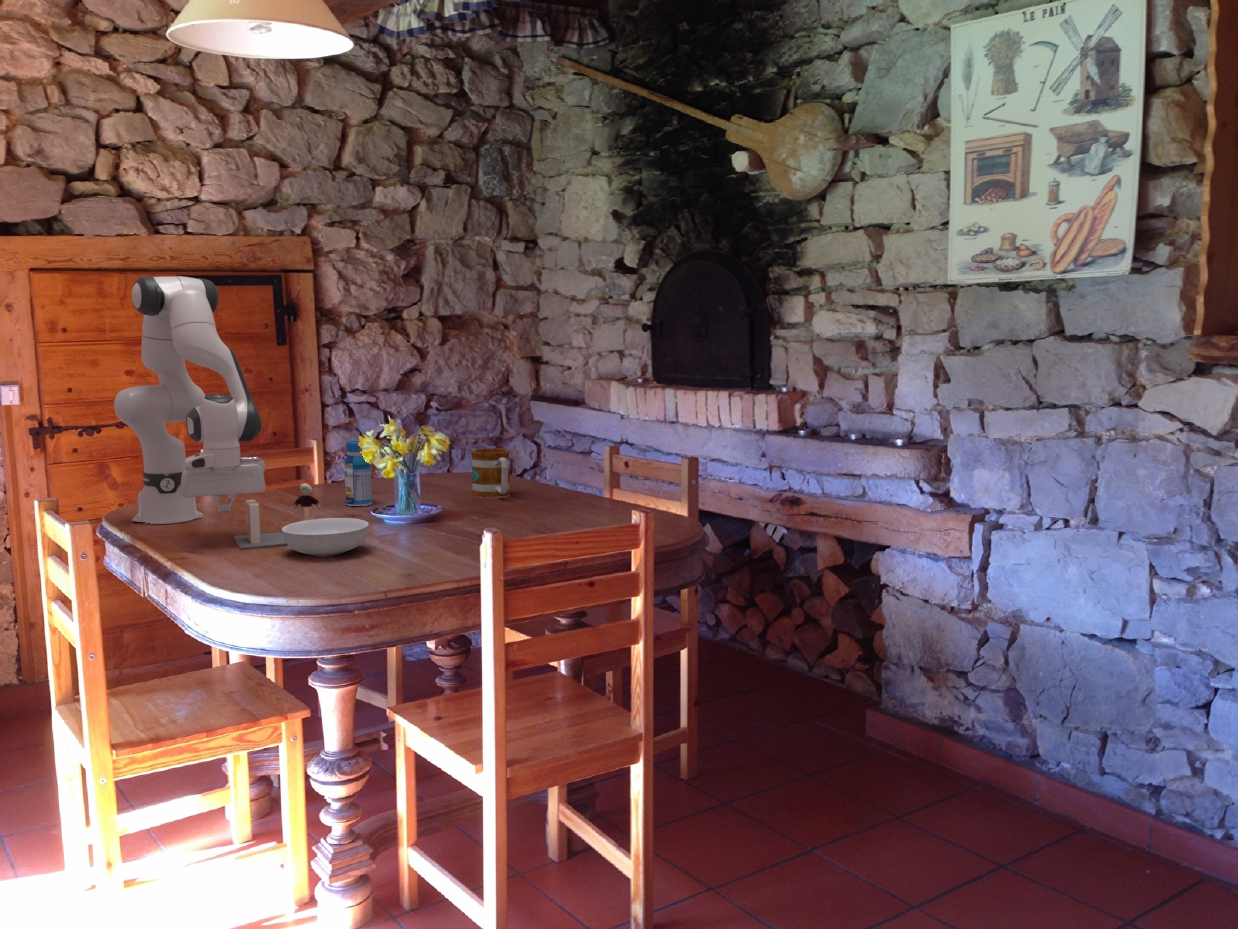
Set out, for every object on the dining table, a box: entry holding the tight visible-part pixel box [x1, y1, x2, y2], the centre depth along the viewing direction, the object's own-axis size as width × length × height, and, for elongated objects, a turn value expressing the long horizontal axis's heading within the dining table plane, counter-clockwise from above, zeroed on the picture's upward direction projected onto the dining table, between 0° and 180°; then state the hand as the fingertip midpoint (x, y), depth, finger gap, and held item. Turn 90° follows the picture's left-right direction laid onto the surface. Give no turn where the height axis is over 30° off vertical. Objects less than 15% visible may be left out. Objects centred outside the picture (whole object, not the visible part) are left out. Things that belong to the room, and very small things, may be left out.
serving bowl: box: [281, 517, 370, 557], centre depth 260 cm, size 21×21×7 cm
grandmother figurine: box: [292, 482, 322, 522], centre depth 288 cm, size 8×4×13 cm, turn 105°
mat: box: [233, 531, 290, 551], centre depth 272 cm, size 15×16×1 cm
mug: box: [470, 447, 511, 497], centre depth 338 cm, size 20×14×15 cm
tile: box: [244, 499, 261, 544], centre depth 270 cm, size 8×2×10 cm, turn 27°
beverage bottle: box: [343, 439, 373, 507], centre depth 323 cm, size 8×8×20 cm
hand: (224, 512), depth 266 cm, fingers closed
